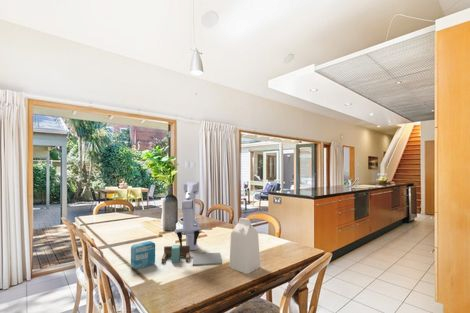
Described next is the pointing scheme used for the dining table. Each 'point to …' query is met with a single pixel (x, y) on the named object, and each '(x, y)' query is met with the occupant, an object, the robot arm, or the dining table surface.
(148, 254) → the data package
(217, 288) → the dining table surface
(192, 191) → the robot arm
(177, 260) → the block
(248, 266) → the milk
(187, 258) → the bay
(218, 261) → the board
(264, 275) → the dining table surface
